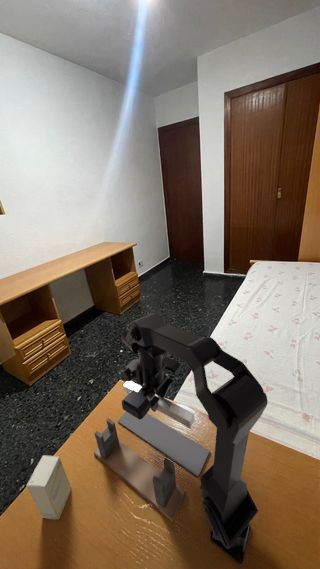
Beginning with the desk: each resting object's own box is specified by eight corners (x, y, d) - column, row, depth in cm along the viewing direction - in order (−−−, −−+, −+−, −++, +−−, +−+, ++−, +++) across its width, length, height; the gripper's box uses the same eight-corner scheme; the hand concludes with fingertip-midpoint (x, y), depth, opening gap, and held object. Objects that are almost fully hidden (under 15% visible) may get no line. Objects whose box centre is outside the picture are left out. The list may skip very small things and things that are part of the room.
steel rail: (194, 420, 57) (194, 413, 56) (190, 428, 55) (189, 421, 54) (129, 385, 69) (128, 379, 68) (124, 391, 67) (122, 385, 67)
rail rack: (185, 493, 54) (184, 467, 50) (172, 521, 49) (169, 495, 46) (109, 435, 68) (104, 412, 65) (94, 453, 64) (87, 430, 60)
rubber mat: (209, 451, 62) (209, 450, 62) (198, 477, 57) (198, 475, 56) (132, 405, 77) (132, 404, 77) (117, 422, 72) (117, 420, 72)
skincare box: (59, 520, 51) (44, 488, 47) (41, 518, 52) (24, 486, 47) (72, 486, 57) (60, 455, 52) (55, 485, 58) (42, 454, 53)
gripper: (148, 333, 68) (153, 374, 74) (101, 373, 54) (111, 419, 60) (180, 344, 62) (183, 388, 68) (136, 393, 48) (144, 442, 54)
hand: (156, 407), depth 62 cm, fingers closed on steel rail, 2 cm apart
